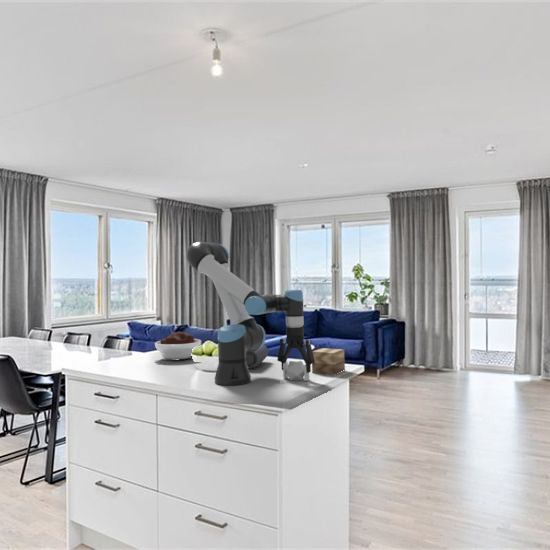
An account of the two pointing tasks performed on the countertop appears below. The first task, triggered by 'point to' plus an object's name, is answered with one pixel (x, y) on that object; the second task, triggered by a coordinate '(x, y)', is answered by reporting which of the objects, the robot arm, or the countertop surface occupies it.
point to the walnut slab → (328, 368)
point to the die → (295, 370)
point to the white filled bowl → (177, 346)
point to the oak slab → (328, 356)
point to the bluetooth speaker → (256, 357)
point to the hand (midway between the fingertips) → (296, 379)
